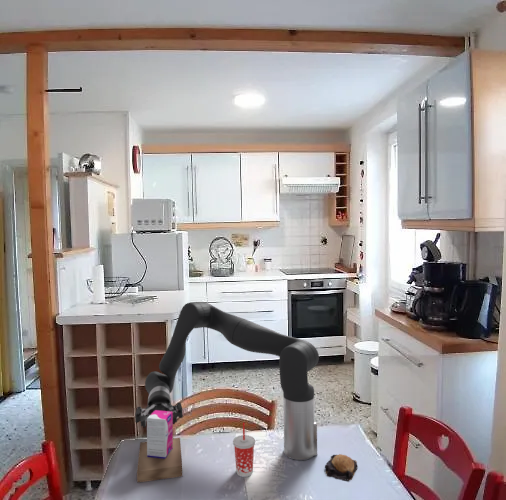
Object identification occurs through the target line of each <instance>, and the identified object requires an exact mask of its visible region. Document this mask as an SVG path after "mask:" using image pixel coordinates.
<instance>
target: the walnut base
mask: <svg viewBox="0 0 506 500" xmlns="http://www.w3.org/2000/svg"><path fill="white" fill-rule="evenodd" d="M138 450H139V451H138V459H137V461H138V462H137V467H136V468H137V470H136V482H137V483H143V482H144V483H145V482H151V481H158V480H165V479H173V478H181V477H183V459H182V444H181V437H175V438H174V437H173V449H172V450H171V451H170V453H169V454H168V455H167V457H166V458H165V459H160V458H150V457H147V441H141V442H139V449H138Z"/></svg>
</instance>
